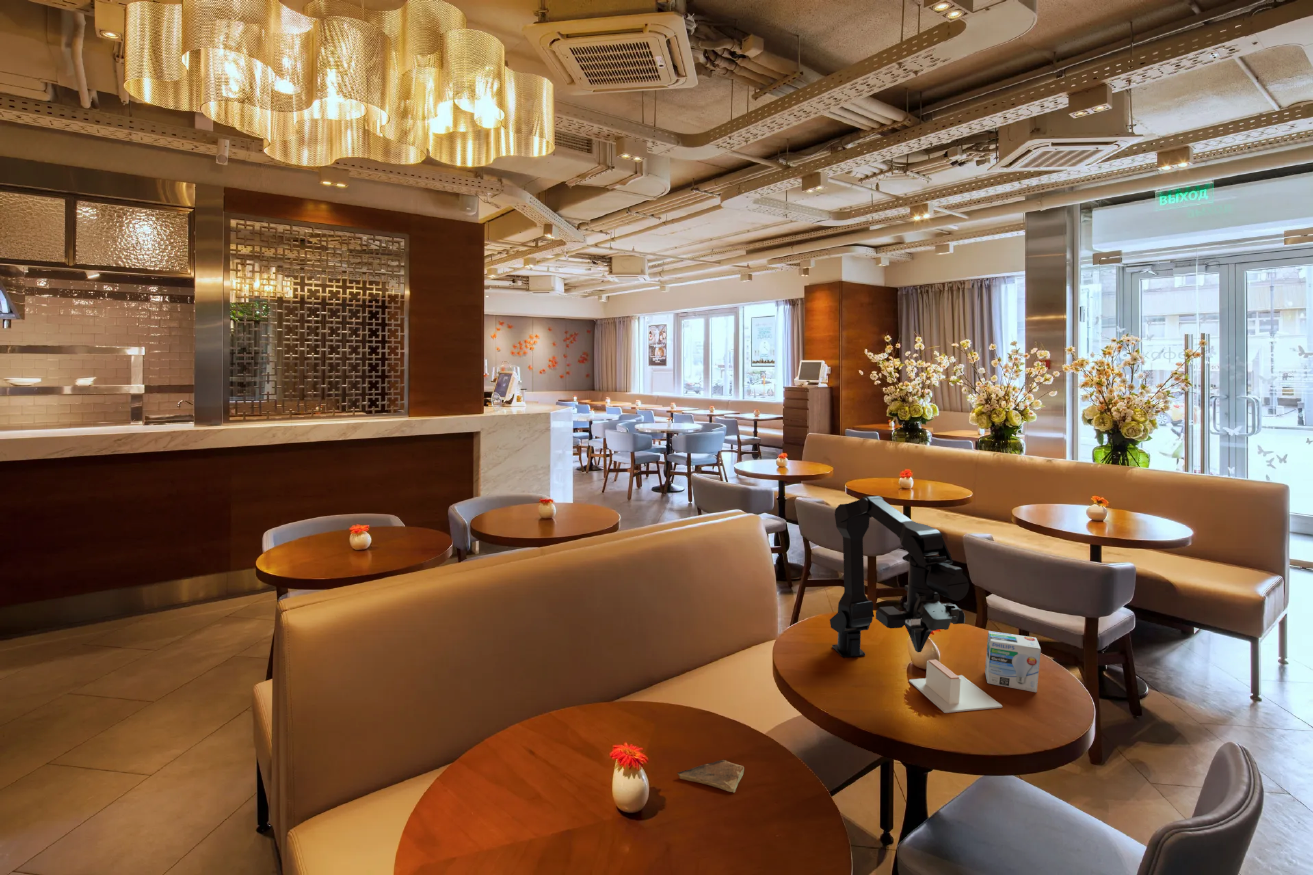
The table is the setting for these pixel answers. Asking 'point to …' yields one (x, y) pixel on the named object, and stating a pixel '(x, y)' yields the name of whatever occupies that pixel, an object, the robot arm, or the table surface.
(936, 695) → the mat
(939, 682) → the domino block
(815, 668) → the table surface
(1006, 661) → the light bulb box
